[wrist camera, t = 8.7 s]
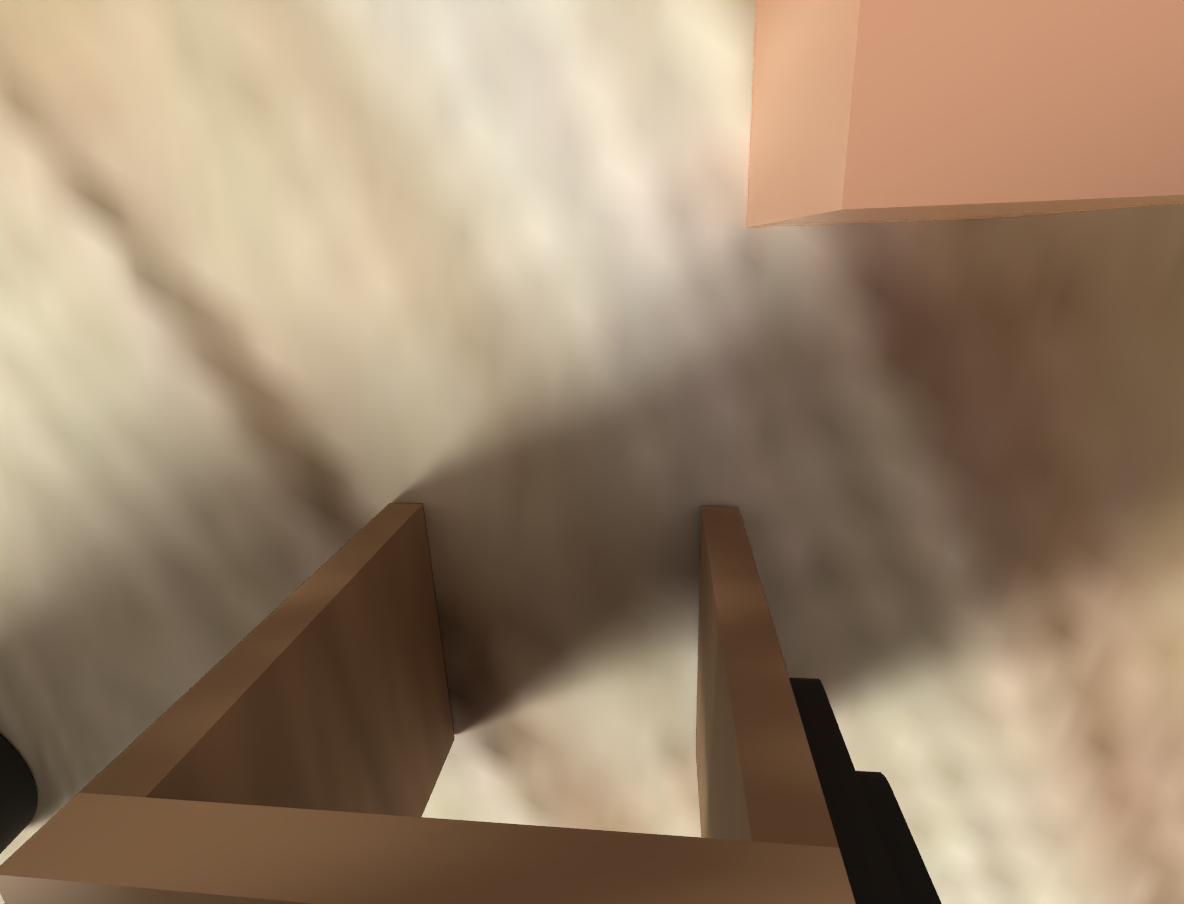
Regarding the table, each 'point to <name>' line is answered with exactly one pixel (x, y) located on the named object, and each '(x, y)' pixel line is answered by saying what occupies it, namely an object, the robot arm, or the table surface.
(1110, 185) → the block
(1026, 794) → the table surface
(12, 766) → the drinking cup
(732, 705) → the arch
